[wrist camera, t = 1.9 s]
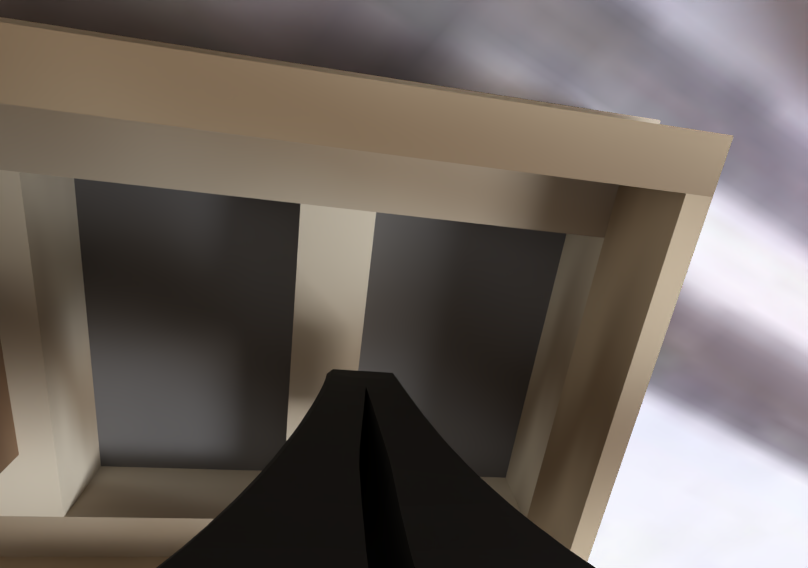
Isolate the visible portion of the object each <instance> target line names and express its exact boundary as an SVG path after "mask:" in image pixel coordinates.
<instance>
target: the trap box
mask: <svg viewBox="0 0 808 568" xmlns="http://www.w3.org/2000/svg"><path fill="white" fill-rule="evenodd" d="M732 139H733V136H732V135H725V134H719V133H713V132H706V131H700V130H693V129H687V128H680V127H674V126H667V125H661V124H660V120H655V119H649V118H643V117H636V116H630V115H623V114H617V113H611V112H604V111H598V110H591V109H585V108H579V107H572V106H566V105H560V104H553V103H547V102H540V101H534V100H528V99H521V98H515V97H508V96H502V95H496V94H489V93H483V92H476V91H470V90H464V89H457V88H451V87H445V86H438V85H432V84H425V83H419V82H413V81H406V80H400V79H393V78H387V77H381V76H374V75H368V74H361V73H355V72H349V71H342V70H336V69H330V68H323V67H317V66H310V65H304V64H298V63H291V62H285V61H278V60H272V59H266V58H259V57H253V56H246V55H240V54H234V53H227V52H221V51H214V50H208V49H202V48H195V47H189V46H183V45H176V44H170V43H163V42H157V41H151V40H144V39H138V38H131V37H125V36H119V35H112V34H106V33H99V32H93V31H87V30H80V29H74V28H68V27H61V26H55V25H48V24H42V23H36V22H29V21H23V20H16V19H10V18H4V17H0V340H1V346H2V352H3V358H4V364H5V371H6V377H7V383H8V389H9V395H10V402H11V408H12V414H13V420H14V426H15V433H16V439H17V445H18V451H19V455H18V456H17V457H16V458H15V459H14V460H13V461H12V462H11V463H10V464H9V465H8V466H7V467H6V468H5V469H4V470H3V471H2V472H1V473H0V568H156V567H158V566H159V565H160V564H161V563H163V562H164V561H165V560H166V559H168V558H169V557H170V556H172V555H173V554H174V553H175V552H177V551H178V550H179V549H180V548H182V547H183V546H184V545H185V544H186V543H187V542H189V541H190V540H191V539H192V538H193V537H194V536H196V535H197V534H198V533H199V532H200V531H201V530H202V529H204V528H205V527H206V526H207V525H208V524H209V523H210V522H211V521H212V520H213V519H214V518H215V517H216V516H218V515H219V514H220V513H221V512H222V511H223V510H224V509H225V508H226V507H227V506H228V505H229V504H230V503H231V502H232V501H234V500H235V499H236V498H237V497H238V496H239V495H240V494H241V493H242V491H243V490H244V489H245V488H246V487H247V486H248V485H249V484H250V483H251V482H252V481H253V480H254V479H255V478H256V477H257V476H258V475H259V474H260V472H261V471H262V470H263V469H264V468H265V467H266V466H267V465H268V463H269V462H270V461H271V460H272V459H273V458H274V456H275V455H276V454H277V453H278V451H279V450H280V449H281V447H282V446H283V445H284V444H285V442H286V441H287V440H288V439H289V437H290V436H291V435H292V433H293V432H294V431H295V429H296V428H297V427H298V425H299V424H300V422H301V421H302V419H303V418H304V416H305V415H306V413H307V412H308V410H309V409H310V407H311V406H312V404H313V402H314V401H315V399H316V397H317V395H318V394H319V392H320V390H321V388H322V386H323V383H324V381H325V378H326V374H327V373H328V372H330V371H331V370H332V369H340V370H356V371H372V372H389V373H393V374H394V375H395V376H396V377H397V379H398V380H399V382H400V383H401V384H402V386H403V387H404V389H405V390H406V391H407V393H408V394H409V396H410V397H411V398H412V400H413V401H414V402H415V404H416V405H417V406H418V408H419V409H420V410H421V412H422V413H423V414H424V416H425V417H426V418H427V419H428V421H429V422H430V423H431V424H432V426H433V427H434V428H435V429H436V430H437V432H438V433H439V434H440V435H441V437H442V438H443V439H444V440H445V441H446V442H447V443H448V445H449V446H450V447H451V448H452V449H453V450H454V451H455V452H456V453H457V454H458V455H459V456H460V457H461V458H462V460H463V461H464V462H465V463H466V464H467V465H468V466H469V467H470V468H471V469H472V470H473V471H474V472H475V473H476V474H477V475H478V476H479V477H480V478H482V479H483V480H484V481H485V482H486V483H487V484H488V485H489V486H490V487H492V488H493V489H494V490H495V491H496V492H497V493H498V494H499V495H501V496H502V497H503V498H504V499H505V500H506V501H507V502H508V503H510V504H511V505H512V506H513V507H514V508H516V509H517V510H518V511H519V512H520V513H522V514H523V515H524V516H525V517H527V518H528V519H529V520H530V521H532V522H533V523H534V524H536V525H537V526H538V527H540V528H541V529H542V530H544V531H545V532H546V533H548V534H549V535H550V536H552V537H553V538H554V539H555V540H557V541H558V542H559V543H561V544H562V545H563V546H565V547H566V548H568V549H569V550H570V551H572V552H573V553H575V554H576V555H578V556H579V557H581V558H582V559H583V560H585V561H586V562H587V561H588V558H589V555H590V552H591V549H592V546H593V544H594V541H595V538H596V535H597V532H598V529H599V526H600V523H601V520H602V517H603V514H604V512H605V509H606V506H607V503H608V500H609V497H610V494H611V491H612V488H613V485H614V482H615V480H616V477H617V474H618V471H619V468H620V465H621V462H622V459H623V456H624V453H625V450H626V448H627V445H628V442H629V439H630V436H631V433H632V430H633V427H634V424H635V421H636V418H637V416H638V413H639V410H640V407H641V404H642V401H643V398H644V395H645V392H646V389H647V386H648V384H649V381H650V378H651V375H652V372H653V369H654V366H655V363H656V360H657V357H658V354H659V352H660V349H661V346H662V343H663V340H664V337H665V334H666V331H667V328H668V325H669V322H670V320H671V317H672V314H673V311H674V308H675V305H676V302H677V299H678V296H679V293H680V290H681V288H682V285H683V282H684V279H685V276H686V273H687V270H688V267H689V264H690V261H691V258H692V256H693V253H694V250H695V247H696V244H697V241H698V238H699V235H700V232H701V229H702V226H703V224H704V221H705V218H706V215H707V212H708V209H709V206H710V203H711V200H712V197H713V194H714V192H715V189H716V186H717V183H718V180H719V177H720V174H721V171H722V168H723V165H724V162H725V160H726V157H727V154H728V151H729V148H730V145H731V142H732Z"/></svg>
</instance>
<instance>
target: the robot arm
mask: <svg viewBox="0 0 808 568" xmlns="http://www.w3.org/2000/svg"><path fill="white" fill-rule="evenodd" d="M156 568H595V567H594V566H592V565H591V564H589V563H588V562H586V561H585V560H583V559H582V558H581V557H579V556H578V555H576V554H575V553H573V552H572V551H570V550H569V549H568V548H566V547H565V546H563V545H562V544H561V543H559V542H558V541H557V540H555V539H554V538H553V537H552V536H550V535H549V534H548V533H546V532H545V531H544V530H542V529H541V528H540V527H538V526H537V525H536V524H534V523H533V522H532V521H530V520H529V519H528V518H527V517H525V516H524V515H523V514H522V513H520V512H519V511H518V510H517V509H516V508H514V507H513V506H512V505H511V504H510V503H508V502H507V501H506V500H505V499H504V498H503V497H502V496H501V495H499V494H498V493H497V492H496V491H495V490H494V489H493V488H492V487H490V486H489V485H488V484H487V483H486V482H485V481H484V480H483V479H482V478H480V477H479V476H478V475H477V474H476V473H475V472H474V471H473V470H472V469H471V468H470V467H469V466H468V465H467V464H466V463H465V462H464V461H463V460H462V458H461V457H460V456H459V455H458V454H457V453H456V452H455V451H454V450H453V449H452V448H451V447H450V446H449V445H448V443H447V442H446V441H445V440H444V439H443V438H442V437H441V435H440V434H439V433H438V432H437V430H436V429H435V428H434V427H433V426H432V424H431V423H430V422H429V421H428V419H427V418H426V417H425V416H424V414H423V413H422V412H421V410H420V409H419V408H418V406H417V405H416V404H415V402H414V401H413V400H412V398H411V397H410V396H409V394H408V393H407V391H406V390H405V389H404V387H403V386H402V384H401V383H400V382H399V380H398V379H397V377H396V376H395V375H394V374H393V373H389V372H372V371H356V370H340V369H332V370H331V371H330V372H328V373H327V374H326V378H325V381H324V383H323V386H322V388H321V390H320V392H319V394H318V395H317V397H316V399H315V401H314V402H313V404H312V406H311V407H310V409H309V410H308V412H307V413H306V415H305V416H304V418H303V419H302V421H301V422H300V424H299V425H298V427H297V428H296V429H295V431H294V432H293V433H292V435H291V436H290V437H289V439H288V440H287V441H286V442H285V444H284V445H283V446H282V447H281V449H280V450H279V451H278V453H277V454H276V455H275V456H274V458H273V459H272V460H271V461H270V462H269V463H268V465H267V466H266V467H265V468H264V469H263V470H262V471H261V472H260V474H259V475H258V476H257V477H256V478H255V479H254V480H253V481H252V482H251V483H250V484H249V485H248V486H247V487H246V488H245V489H244V490H243V491H242V493H241V494H240V495H239V496H238V497H237V498H236V499H235V500H234V501H232V502H231V503H230V504H229V505H228V506H227V507H226V508H225V509H224V510H223V511H222V512H221V513H220V514H219V515H218V516H216V517H215V518H214V519H213V520H212V521H211V522H210V523H209V524H208V525H207V526H206V527H205V528H204V529H202V530H201V531H200V532H199V533H198V534H197V535H196V536H194V537H193V538H192V539H191V540H190V541H189V542H187V543H186V544H185V545H184V546H183V547H182V548H180V549H179V550H178V551H177V552H175V553H174V554H173V555H172V556H170V557H169V558H168V559H166V560H165V561H164V562H163V563H161V564H160V565H159V566H158V567H156Z"/></svg>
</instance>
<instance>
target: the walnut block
mask: <svg viewBox="0 0 808 568" xmlns="http://www.w3.org/2000/svg"><path fill="white" fill-rule="evenodd" d="M18 455H19V451H18V445H17V439H16V433H15V426H14V420H13V414H12V408H11V402H10V395H9V389H8V383H7V377H6V371H5V364H4V358H3V352H2V346H1V340H0V473H1V472H2V471H3V470H4V469H5V468H6V467H7V466H8V465H9V464H10V463H11V462H12V461H13V460H14V459H15V458H16V457H17V456H18Z"/></svg>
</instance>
